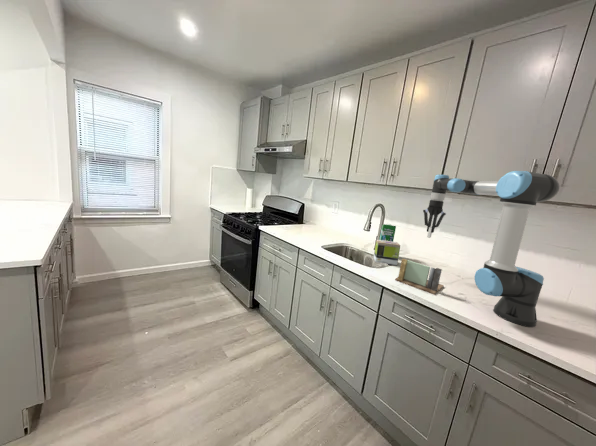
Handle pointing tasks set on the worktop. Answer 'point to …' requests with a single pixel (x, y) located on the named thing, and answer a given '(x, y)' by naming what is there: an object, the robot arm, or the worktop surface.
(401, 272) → the wooden stand
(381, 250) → the tea box
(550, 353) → the worktop surface
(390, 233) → the milk carton
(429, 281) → the gate
